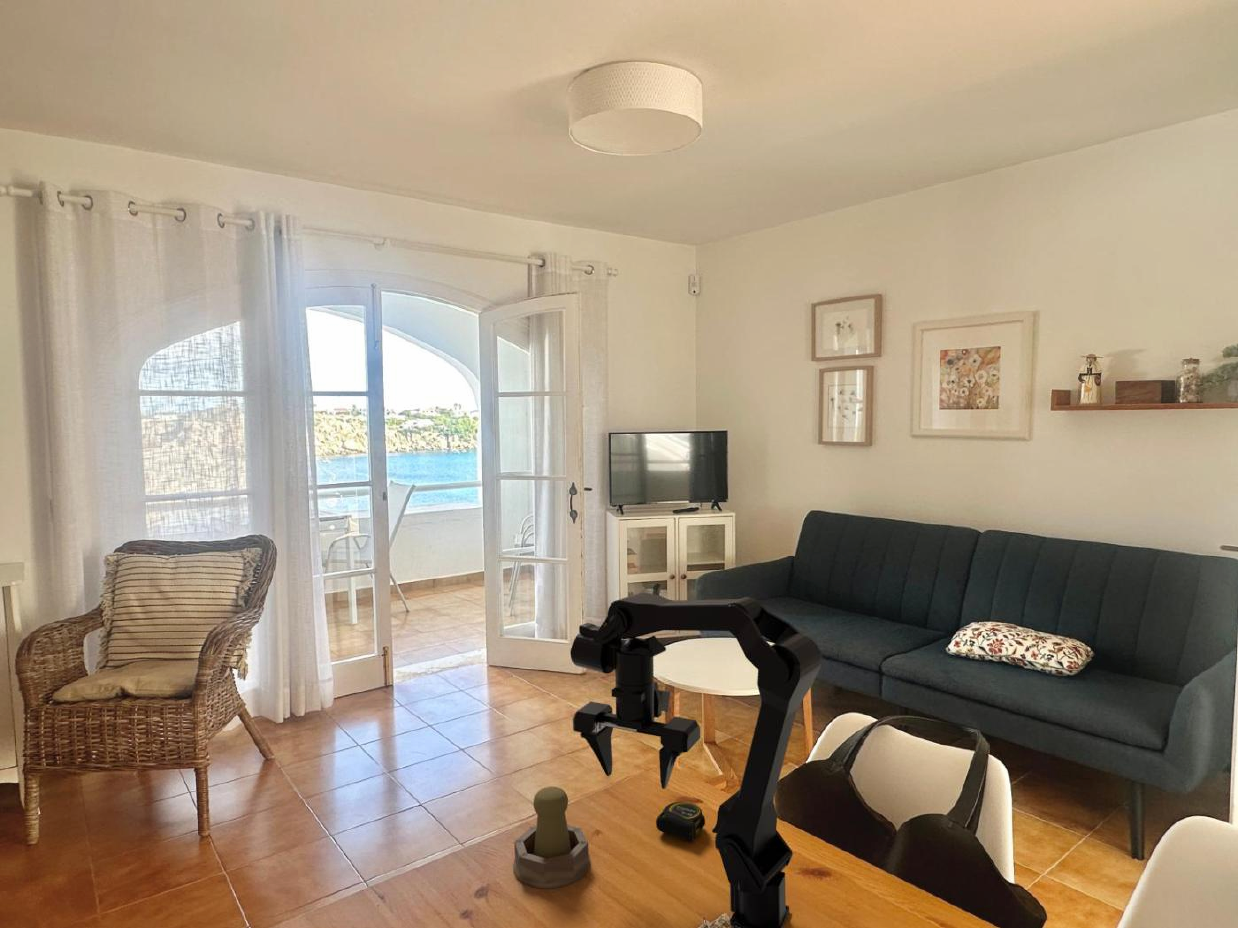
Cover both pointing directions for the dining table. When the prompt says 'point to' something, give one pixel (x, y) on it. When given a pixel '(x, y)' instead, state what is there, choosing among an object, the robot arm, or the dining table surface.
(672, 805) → the tape measure
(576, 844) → the octagonal stone mortar
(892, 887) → the dining table surface
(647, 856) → the dining table surface
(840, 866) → the dining table surface
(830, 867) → the dining table surface
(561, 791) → the olive round-headed post
